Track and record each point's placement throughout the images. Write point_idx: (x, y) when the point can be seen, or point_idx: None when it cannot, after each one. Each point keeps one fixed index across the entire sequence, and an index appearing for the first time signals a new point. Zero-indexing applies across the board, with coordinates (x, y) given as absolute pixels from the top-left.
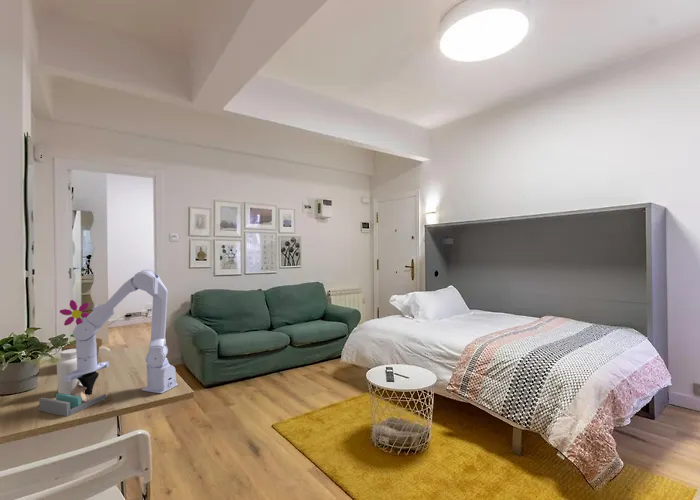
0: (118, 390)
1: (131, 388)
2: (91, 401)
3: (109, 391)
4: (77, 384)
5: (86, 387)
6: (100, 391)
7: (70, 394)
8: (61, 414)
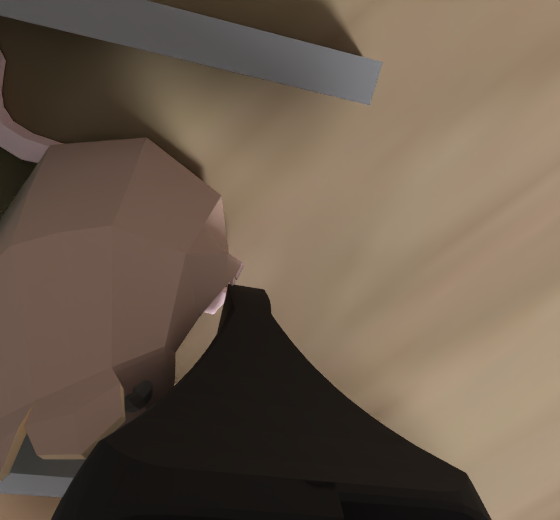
0: (438, 446)
1: None
2: (61, 492)
3: (420, 383)
4: (57, 404)
5: None
6: (430, 286)
7: (1, 234)
8: None
